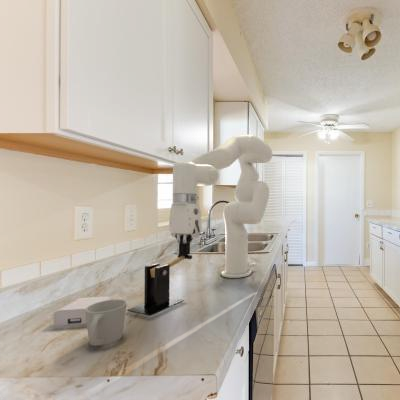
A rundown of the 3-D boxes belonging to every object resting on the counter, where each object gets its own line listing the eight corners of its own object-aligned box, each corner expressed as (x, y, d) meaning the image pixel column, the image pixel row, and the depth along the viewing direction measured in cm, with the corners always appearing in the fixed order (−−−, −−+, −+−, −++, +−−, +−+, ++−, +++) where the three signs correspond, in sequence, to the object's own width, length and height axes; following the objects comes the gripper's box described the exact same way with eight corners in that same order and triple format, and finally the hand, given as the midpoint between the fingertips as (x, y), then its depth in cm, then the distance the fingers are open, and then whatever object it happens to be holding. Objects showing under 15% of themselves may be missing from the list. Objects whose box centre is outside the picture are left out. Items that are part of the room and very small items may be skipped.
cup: (131, 333, 66) (131, 298, 66) (113, 356, 56) (113, 315, 56) (95, 336, 64) (95, 300, 64) (70, 361, 54) (70, 318, 54)
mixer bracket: (162, 299, 88) (162, 260, 88) (184, 303, 84) (184, 262, 84) (127, 314, 76) (127, 268, 77) (150, 319, 73) (150, 272, 73)
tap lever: (181, 258, 92) (180, 251, 92) (192, 259, 90) (191, 253, 90) (147, 276, 80) (146, 269, 80) (160, 278, 78) (158, 270, 78)
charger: (122, 304, 83) (94, 327, 69) (89, 306, 82) (53, 329, 67) (122, 289, 83) (95, 308, 69) (89, 290, 82) (53, 310, 67)
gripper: (210, 199, 91) (210, 254, 91) (176, 199, 97) (176, 251, 96) (194, 199, 84) (193, 258, 84) (158, 199, 90) (158, 255, 89)
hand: (184, 254), depth 90 cm, fingers closed
